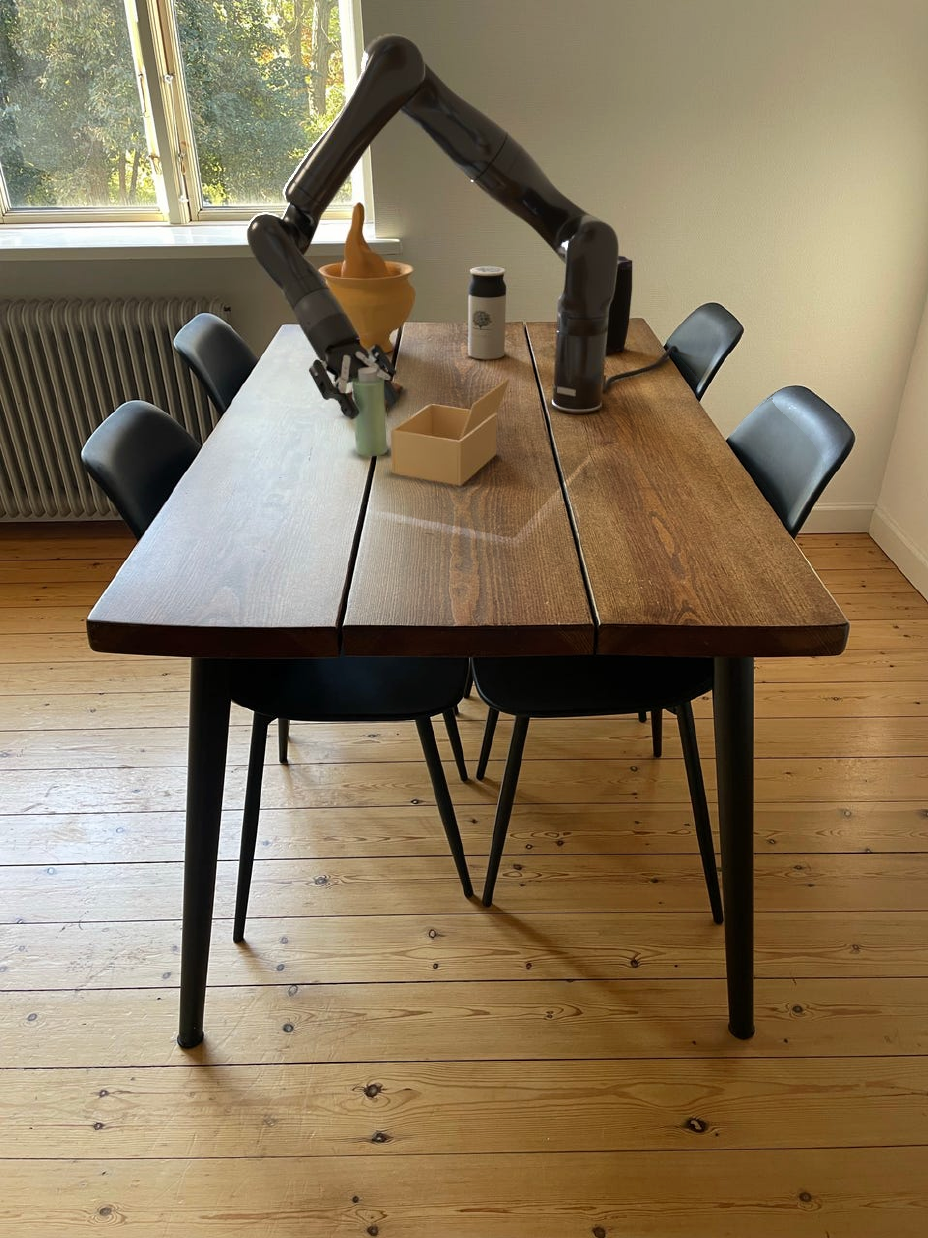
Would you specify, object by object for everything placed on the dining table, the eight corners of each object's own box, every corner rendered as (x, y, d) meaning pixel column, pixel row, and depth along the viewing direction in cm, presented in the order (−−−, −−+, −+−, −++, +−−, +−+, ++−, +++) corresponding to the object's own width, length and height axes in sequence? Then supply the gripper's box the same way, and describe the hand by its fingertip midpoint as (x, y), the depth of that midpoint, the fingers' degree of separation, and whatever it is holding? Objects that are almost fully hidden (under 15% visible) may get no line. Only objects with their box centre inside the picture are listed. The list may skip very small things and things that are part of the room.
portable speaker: (583, 354, 205) (589, 261, 194) (592, 343, 212) (598, 253, 202) (622, 357, 202) (630, 263, 192) (629, 346, 210) (638, 255, 200)
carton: (431, 445, 157) (430, 403, 153) (495, 457, 153) (496, 413, 149) (392, 475, 147) (390, 430, 143) (460, 488, 142) (460, 442, 138)
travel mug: (481, 348, 208) (483, 264, 199) (511, 354, 204) (513, 268, 195) (461, 356, 203) (461, 270, 193) (491, 362, 199) (492, 275, 189)
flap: (508, 377, 145) (510, 378, 145) (496, 409, 149) (497, 410, 149) (472, 403, 134) (474, 404, 134) (460, 437, 138) (461, 438, 138)
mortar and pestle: (414, 361, 199) (410, 211, 183) (316, 361, 199) (304, 211, 184) (419, 336, 217) (416, 197, 201) (330, 335, 217) (319, 196, 201)
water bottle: (365, 445, 158) (361, 363, 150) (392, 450, 156) (389, 367, 148) (350, 455, 154) (344, 372, 146) (377, 460, 152) (373, 376, 144)
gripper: (299, 319, 143) (351, 408, 142) (369, 303, 152) (418, 387, 151) (282, 347, 149) (332, 432, 148) (350, 330, 158) (398, 411, 157)
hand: (375, 410), depth 150 cm, fingers open, 8 cm apart
